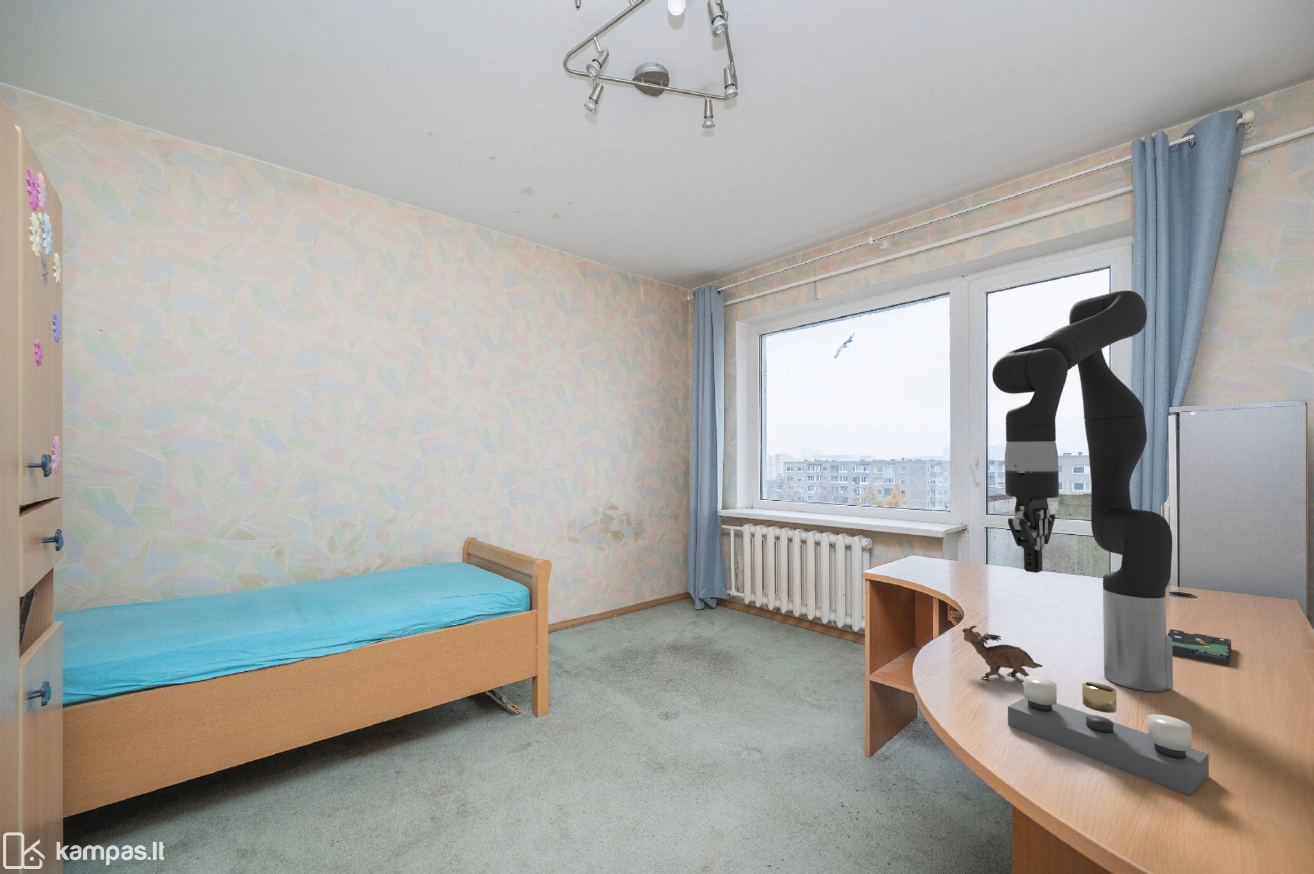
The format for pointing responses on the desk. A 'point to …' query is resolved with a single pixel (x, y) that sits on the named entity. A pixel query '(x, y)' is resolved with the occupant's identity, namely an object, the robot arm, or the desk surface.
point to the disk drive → (1201, 647)
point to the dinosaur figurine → (999, 654)
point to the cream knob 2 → (1169, 732)
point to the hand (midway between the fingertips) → (1033, 571)
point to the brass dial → (1099, 697)
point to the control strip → (1111, 744)
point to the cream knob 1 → (1040, 690)
